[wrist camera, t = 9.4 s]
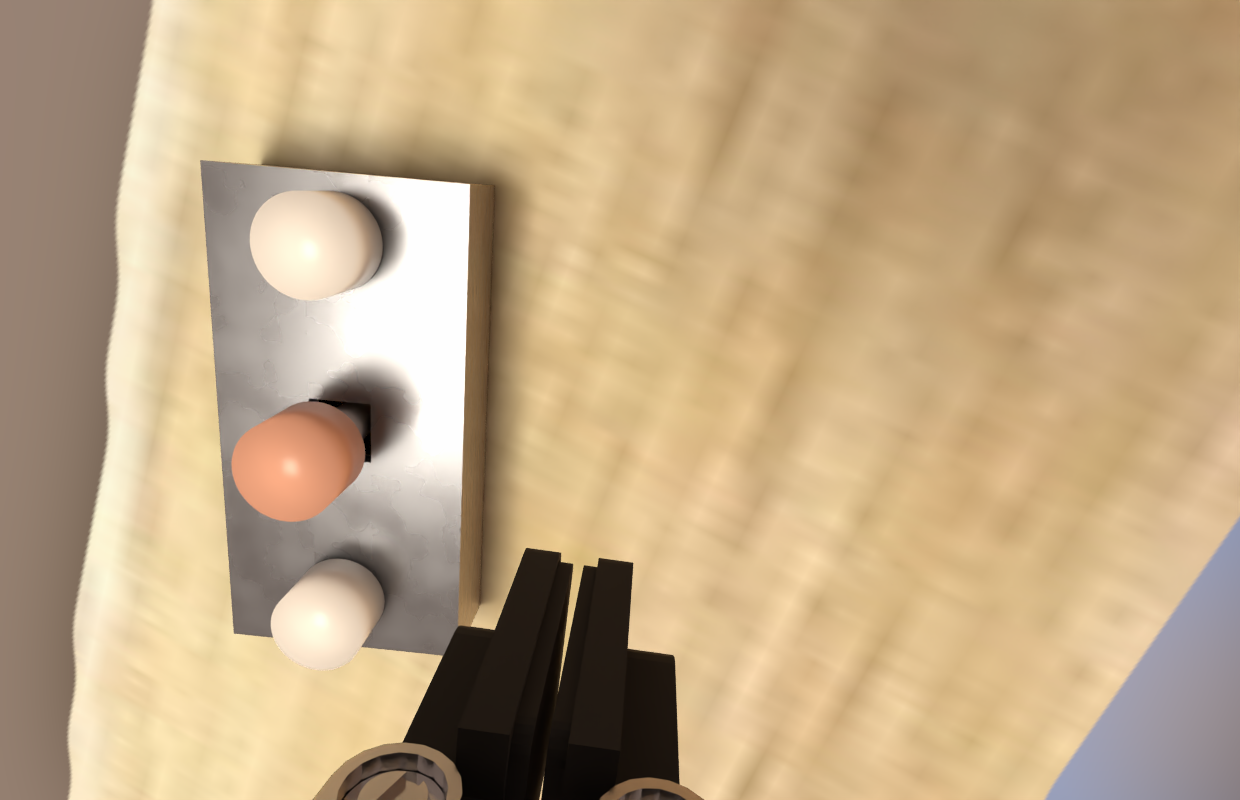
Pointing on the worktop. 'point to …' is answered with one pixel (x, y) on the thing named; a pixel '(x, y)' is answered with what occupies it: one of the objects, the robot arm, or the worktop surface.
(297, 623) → the far knob
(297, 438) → the middle knob
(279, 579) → the knob panel
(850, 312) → the worktop surface
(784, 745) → the worktop surface
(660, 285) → the worktop surface
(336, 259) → the near knob
